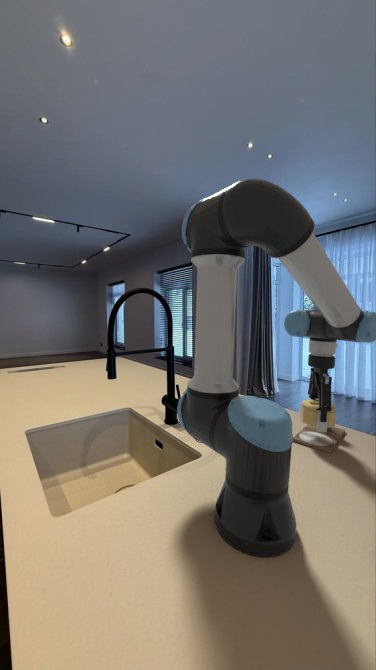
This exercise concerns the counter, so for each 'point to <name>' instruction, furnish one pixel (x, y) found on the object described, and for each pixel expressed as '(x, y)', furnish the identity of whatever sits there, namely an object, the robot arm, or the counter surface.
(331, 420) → the cap
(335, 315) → the robot arm
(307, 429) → the post board
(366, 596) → the counter surface
